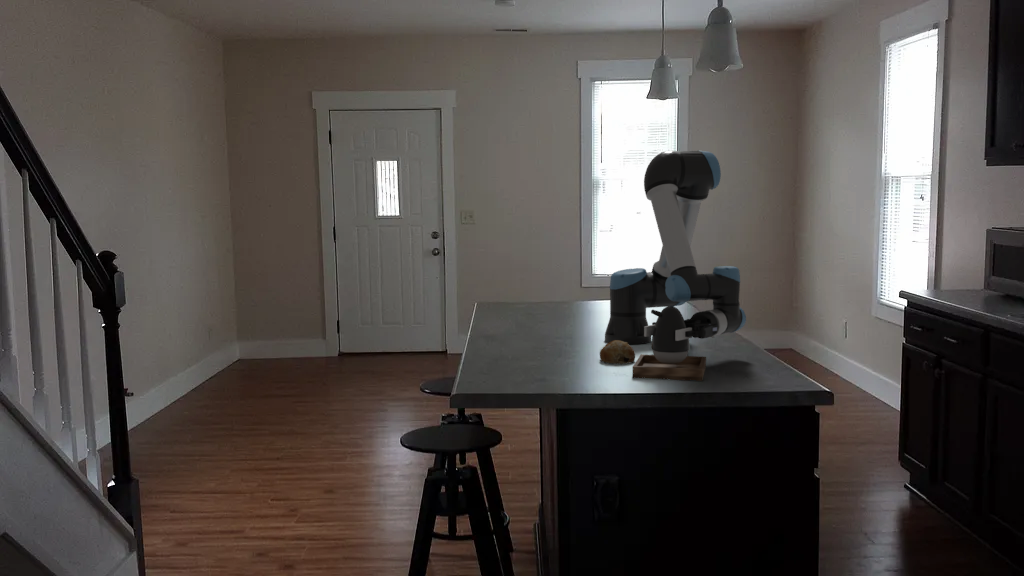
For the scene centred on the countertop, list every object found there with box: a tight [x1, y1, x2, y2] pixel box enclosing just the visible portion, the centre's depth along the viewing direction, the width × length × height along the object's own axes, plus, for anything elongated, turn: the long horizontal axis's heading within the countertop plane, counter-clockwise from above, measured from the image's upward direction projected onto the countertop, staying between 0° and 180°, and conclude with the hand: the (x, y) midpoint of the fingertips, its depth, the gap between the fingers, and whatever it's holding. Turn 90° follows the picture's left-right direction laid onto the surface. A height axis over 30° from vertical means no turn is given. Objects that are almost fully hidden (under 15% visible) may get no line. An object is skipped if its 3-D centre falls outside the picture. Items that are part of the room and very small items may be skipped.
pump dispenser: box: [650, 306, 691, 364], centre depth 238 cm, size 10×10×15 cm
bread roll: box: [599, 340, 636, 365], centre depth 256 cm, size 10×10×8 cm
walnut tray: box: [632, 353, 707, 382], centre depth 239 cm, size 18×18×3 cm
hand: (660, 333), depth 235 cm, fingers closed on pump dispenser, 9 cm apart
